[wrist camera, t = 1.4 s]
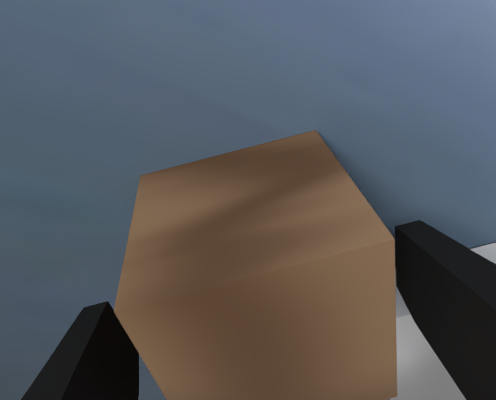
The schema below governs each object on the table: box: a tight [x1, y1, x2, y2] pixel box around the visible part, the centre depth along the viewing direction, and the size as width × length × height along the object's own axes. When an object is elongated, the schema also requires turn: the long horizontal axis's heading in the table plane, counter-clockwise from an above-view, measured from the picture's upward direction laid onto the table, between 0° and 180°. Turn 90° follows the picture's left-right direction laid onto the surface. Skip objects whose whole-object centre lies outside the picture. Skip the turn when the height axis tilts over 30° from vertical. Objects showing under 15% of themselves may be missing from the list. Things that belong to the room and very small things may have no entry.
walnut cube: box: [114, 130, 397, 400], centre depth 10 cm, size 5×5×5 cm
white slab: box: [386, 243, 496, 400], centre depth 16 cm, size 9×9×2 cm
